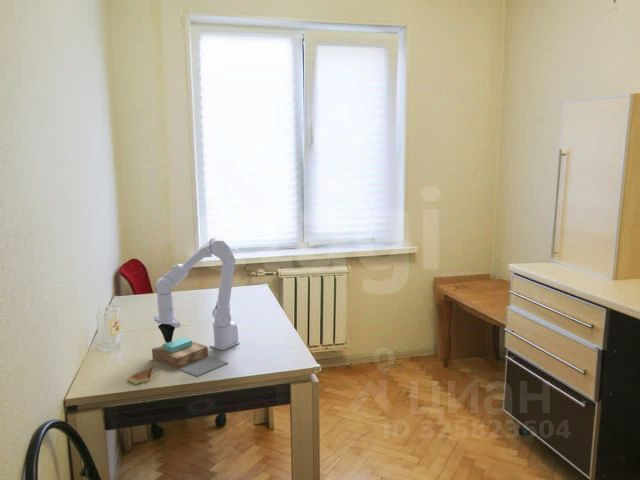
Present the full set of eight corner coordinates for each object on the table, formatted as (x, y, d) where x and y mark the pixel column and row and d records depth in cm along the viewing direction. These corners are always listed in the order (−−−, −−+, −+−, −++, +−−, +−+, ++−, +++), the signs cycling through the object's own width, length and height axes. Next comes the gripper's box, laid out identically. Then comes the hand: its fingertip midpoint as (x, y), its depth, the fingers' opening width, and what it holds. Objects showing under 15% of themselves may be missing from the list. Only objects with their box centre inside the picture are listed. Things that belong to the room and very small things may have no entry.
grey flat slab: (209, 356, 192) (208, 355, 192) (227, 363, 185) (227, 362, 185) (178, 369, 182) (178, 368, 182) (197, 376, 175) (197, 375, 175)
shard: (153, 370, 182) (153, 365, 182) (166, 375, 178) (165, 370, 177) (126, 381, 174) (126, 376, 174) (139, 386, 169) (138, 381, 169)
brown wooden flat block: (183, 347, 203) (182, 338, 202) (208, 356, 193) (207, 346, 192) (152, 358, 192) (151, 349, 191) (177, 368, 182) (176, 358, 181)
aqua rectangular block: (183, 342, 198) (182, 337, 197) (192, 345, 194) (192, 340, 193) (163, 349, 191) (163, 344, 190) (172, 352, 187) (172, 347, 187)
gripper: (146, 307, 195) (149, 340, 197) (167, 314, 186) (170, 348, 188) (161, 303, 201) (164, 335, 203) (183, 309, 191) (186, 343, 194)
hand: (168, 341), depth 196 cm, fingers closed
